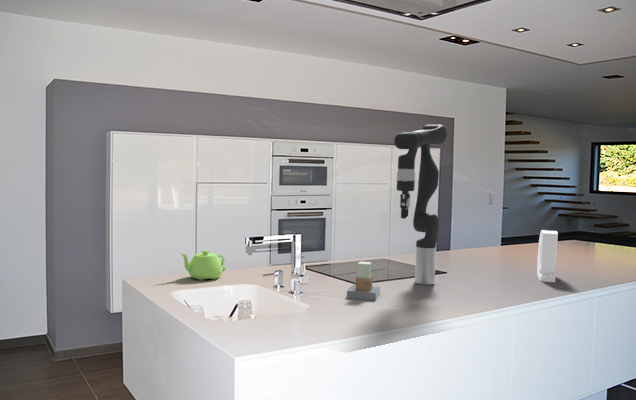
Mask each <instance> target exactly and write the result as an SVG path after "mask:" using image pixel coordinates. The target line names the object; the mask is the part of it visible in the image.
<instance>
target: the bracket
mask: <svg viewBox="0 0 636 400" xmlns="http://www.w3.org/2000/svg"><path fill="white" fill-rule="evenodd" d="M539 233H540V234H539V239H538V249H537V262H536V263H537V267H536V268H537V269H536V270H537V272H536V273H537V278H538V279H539V281H540V282H545V283H546V282H547V283H556V276H555V273H557V258H558V256H557V255H558V240H559V239H558V237H559V234H558V233H559V232H558V231H557V230H548V229H541V230H540V232H539Z"/></svg>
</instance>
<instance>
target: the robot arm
mask: <svg viewBox="0 0 636 400" xmlns="http://www.w3.org/2000/svg"><path fill="white" fill-rule="evenodd" d="M447 136H448V131H447V128H446V127H445V126H444V125H443V124H425V125H423V126H422V129H418V130H413V131H408V132H405V131H404V132H399V133H397V134H396V135H395V137H394V139H393V142H394V146H395V147H396V149H398V150H408V151H407V153H406V154H401V155H399V156H398V158H397V161H398V162H397V173H396V191H399V192H401V193H400V196H399V205H400V206H399V208H400V219H404V220H405V219H406V218H408V217H409V209H410V208H409V207H410V203H411V194H410V192H415V187H416V186H415V184H416V183H415V181H416V172H415V163H416V162H415V161H416V156H417V152H418V149H419V147H420V161H419V163H420V164H419V172H418V181H417V183H418V184H417V186H418V188H417V194H416V203H415V207H414V213H413V220H412V222H413V224H412V225H413V228H414V230H415V231H416V232H419V233H425V234H424V237H423V238H420V239H417V240H416V242H415V262H414V263H415V265H414V266H415V267H414V268H415V269H414V283H415V284H418V285H426V286H427V285H428V286H429V285H434V284H435V282H436V281H435V278H436V277H435V275H436V256H437V255H436V253H437V251H436V250H437V242H438V238H439V237H438V235H439V226H440V225H439V223H440V221H439V217H438V216H437V214H434V213H429V212H427V207H428V204H429V201H430V199H431V198H432V196H433V195H434V194H435V192H436V190H437V189H438V186H439V180H440V179H439V177H440V172H439V169H438V167H437V164H436V162H435V160H434V159H433V157H432V154H431V145H441V144H444V143H445V142H446V140H447Z"/></svg>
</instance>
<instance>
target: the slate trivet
mask: <svg viewBox="0 0 636 400" xmlns="http://www.w3.org/2000/svg"><path fill="white" fill-rule="evenodd" d="M380 295H381V286H375V285H374V286H373V285H372V289H371V290H370V291H364V290H356V284H352V285H351V286H350V287H349V288H348V289H347V290H346V299H356V300H366V301H377V299H378V298H379V296H380Z"/></svg>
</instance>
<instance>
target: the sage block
mask: <svg viewBox="0 0 636 400" xmlns="http://www.w3.org/2000/svg"><path fill="white" fill-rule="evenodd" d="M372 264H373V263H372V262H371V261H359V262H357V272H356V273H357V274H356V275H357V276H356V277H357V278H367V279H369V278H370V277H371V276H372Z"/></svg>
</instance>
